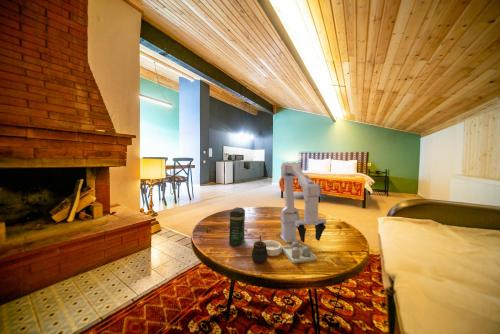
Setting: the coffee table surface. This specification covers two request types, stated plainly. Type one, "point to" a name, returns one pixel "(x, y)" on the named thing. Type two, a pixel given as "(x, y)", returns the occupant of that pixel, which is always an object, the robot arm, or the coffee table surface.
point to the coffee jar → (237, 226)
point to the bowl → (273, 247)
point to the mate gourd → (259, 252)
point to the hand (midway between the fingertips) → (310, 240)
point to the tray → (288, 253)
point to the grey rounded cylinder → (295, 244)
